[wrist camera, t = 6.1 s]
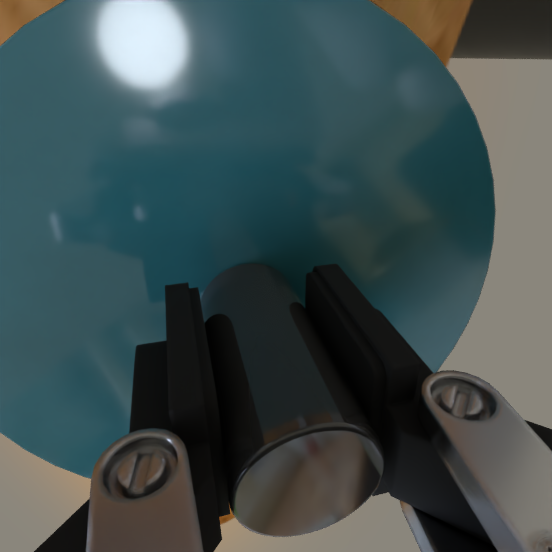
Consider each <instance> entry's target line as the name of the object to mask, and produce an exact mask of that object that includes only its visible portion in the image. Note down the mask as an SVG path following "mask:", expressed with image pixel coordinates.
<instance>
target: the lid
mask: <svg viewBox="0 0 552 552" xmlns="http://www.w3.org/2000/svg"><path fill="white" fill-rule="evenodd" d="M494 225H495V196H494V180H493V175H492V170H491V165H490V160H489V155H488V150H487V146H486V144H485V141H484V138H483V135H482V132H481V130H480V127H479V124H478V121H477V118H476V116H475V114H474V112H473V110H472V108H471V106H470V104H469V103H468V101H467V99H466V97H465V95H464V93H463V91H462V90H461V88H460V86H459V84H458V83H457V81H456V80H455V79H454V77H453V76H452V75H451V74H450V72H449V71H448V70H447V68H446V67H445V66H444V64H443V63H442V62H441V60H440V59H439V58H438V56H437V55H436V54H435V52H434V51H432V50H431V49H430V48H429V47H428V46H427V45H426V44H425V43H424V42H423V41H422V40H421V39H420V38H419V37H418V36H417V35H416V34H415V33H413V32H412V31H411V30H410V29H409V28H408V27H407V26H406V25H405V24H404V23H402V22H401V21H399V20H398V19H396V18H395V17H393V16H392V15H390V14H389V13H387V12H386V11H385V10H383V9H382V8H380V7H379V6H377V5H376V4H374V3H373V2H371V1H370V0H64V1H63V2H61V3H59V4H58V5H56V6H54V7H53V8H51V9H50V10H48V11H46V12H45V13H43V14H41V15H40V16H38V17H36V18H35V19H33V20H32V21H30V22H28V23H27V24H25V25H23V26H22V27H21V28H20V29H19V30H18V31H17V32H15V33H14V34H13V35H12V36H11V37H10V38H9V39H7V40H6V41H5V42H4V43H3V44H2V45H1V46H0V433H2V434H3V435H5V436H6V437H7V438H9V439H10V440H12V441H13V442H15V443H16V444H18V445H19V446H21V447H22V448H23V449H25V450H27V451H28V452H30V453H32V454H34V455H36V456H38V457H40V458H42V459H43V460H45V461H47V462H49V463H51V464H53V465H55V466H58V467H60V468H63V469H65V470H68V471H70V472H73V473H76V474H78V475H81V476H83V477H86V478H90V479H91V477H92V473H93V469H94V466H95V464H96V462H97V461H98V459H99V457H100V456H101V454H102V453H103V452H104V451H105V450H106V449H107V448H108V447H109V446H110V445H111V444H112V443H113V442H115V441H116V440H118V439H120V438H121V437H123V436H124V435H126V434H129V429H130V415H131V402H132V388H133V375H134V361H135V350H136V346H137V345H141V344H147V343H153V342H160V341H166V308H165V285H172V284H180V283H187V282H188V284H189V288H195V287H198V289H199V295H200V300H201V306H202V312H203V318H204V324H205V329H206V335H207V341H208V347H209V353H210V359H211V364H212V370H213V376H214V382H215V388H216V394H217V401H218V408H219V416H220V425H221V435H222V444H223V453H224V461H223V464H224V474H225V480H226V487H227V493H228V499H229V504H230V508H231V511H232V513H233V515H234V516H235V517H236V519H237V520H238V521H239V523H241V524H242V525H243V526H244V527H245V528H247V529H249V530H250V531H252V532H255V533H258V534H261V535H266V536H273V537H288V536H297V535H302V534H307V533H311V532H314V531H318V530H320V529H323V528H326V527H328V526H330V525H332V524H334V523H336V522H338V521H340V520H342V519H343V518H345V517H347V516H348V515H350V514H351V513H352V512H354V511H355V510H357V509H358V508H359V507H360V506H361V505H362V504H363V503H364V502H366V501H367V500H368V499H369V497H370V496H371V495H372V494H373V493H374V491H375V490H376V489H377V487H378V485H379V483H380V482H381V479H382V477H383V475H384V471H385V465H386V458H385V450H384V447H383V444H382V443H381V441H380V439H379V437H378V436H377V434H376V432H375V430H374V429H373V427H372V425H371V423H370V422H369V420H368V418H367V416H366V415H365V413H364V411H363V409H362V408H361V406H360V404H359V402H358V401H357V399H356V397H355V395H354V394H353V392H352V390H351V388H350V387H349V385H348V383H347V381H346V380H345V378H344V376H343V374H342V373H341V371H340V369H339V367H338V366H337V364H336V362H335V360H334V359H333V357H332V355H331V353H330V352H329V350H328V348H327V346H326V345H325V343H324V341H323V339H322V338H321V336H320V334H319V332H318V331H317V329H316V327H315V325H314V324H313V322H312V320H311V318H310V317H309V315H308V313H307V311H306V310H305V289H306V274H307V273H310V272H312V271H313V268H314V266H320V265H328V264H337V265H339V267H340V268H341V269H342V270H343V271H344V273H345V274H346V275H347V276H348V277H349V279H350V280H351V281H352V282H353V283H354V284H355V286H356V287H357V288H358V289H359V290H360V292H361V293H362V294H363V295H364V296H365V298H366V299H367V300H368V301H369V302H370V303H371V305H372V306H373V307H374V308H375V309H378V310H380V311H381V312H382V313H383V314H384V316H385V317H386V318H387V319H388V320H389V322H390V323H391V324H392V325H393V326H394V327H395V329H396V330H397V331H398V332H399V333H400V334H401V336H402V337H403V338H404V339H405V340H406V341H407V343H408V344H409V345H410V346H411V347H412V348H413V350H414V351H415V352H416V353H417V354H418V355H419V357H420V358H421V359H422V360H423V361H424V362H425V364H426V365H427V366H428V367H429V368H430V369H431V371H432V372H433V373H436V372H437V371H438V369H439V368H440V367H441V365H442V364H443V363H444V361H445V360H446V358H447V357H448V356H449V354H450V353H451V351H452V350H453V349H454V347H455V345H456V343H457V342H458V340H459V338H460V336H461V335H462V333H463V331H464V329H465V328H466V326H467V324H468V322H469V320H470V317H471V315H472V313H473V311H474V308H475V306H476V304H477V302H478V299H479V297H480V294H481V290H482V287H483V284H484V281H485V278H486V274H487V271H488V267H489V262H490V257H491V251H492V246H493V240H494Z"/></svg>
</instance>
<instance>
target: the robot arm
mask: <svg viewBox="0 0 552 552" xmlns="http://www.w3.org/2000/svg"><path fill="white" fill-rule="evenodd" d="M165 308H166V341H160V342H153V343H147V344H141V345H137V346H136V350H135V361H134V375H133V388H132V402H131V415H130V429H129V434H126V435H124V436H123V437H121V438H120V439H118V440H116V441H115V442H113V443H112V444H111V445H110V446H109V447H108V448H107V449H106V450H105V451H104V452H103V453H102V454H101V456H100V457H99V459H98V461H97V462H96V464H95V466H94V469H93V473H92V477H91V489H90V499H89V500H87V502H86V503H85V504H83V505H82V506H81V507H80V508H79V509H78V510H77V511H76V512H75V513H74V514H73V515H72V516H71V517H70V518H69V519H68V520H67V521H66V522H65V523H64V524H62V525H61V526H60V527H59V528H58V529H57V530H56V531H55V532H54V533H53V534H52V535H51V536H50V537H49V538H48V539H47V540H46V541H45V542H44V543H43V544H41V545H40V546H39V547H38V548H37V549H36V550H35V551H34V552H214V550H215V549H216V547H217V546H218V544H219V543H220V541H221V540H222V536H221V529H220V520H219V517H220V516H224V515H228V514H230V509H229V499H228V493H227V487H226V480H225V474H224V464H223V461H224V453H223V444H222V435H221V425H220V416H219V408H218V401H217V394H216V388H215V382H214V376H213V370H212V364H211V359H210V353H209V347H208V341H207V335H206V329H205V324H204V318H203V312H202V306H201V300H200V295H199V289H198V287H195V288H189V284H188V282H187V283H180V284H172V285H165ZM305 310H306V311H307V313H308V315H309V317H310V318H311V320H312V322H313V324H314V325H315V327H316V329H317V331H318V332H319V334H320V336H321V338H322V339H323V341H324V343H325V345H326V346H327V348H328V350H329V352H330V353H331V355H332V357H333V359H334V360H335V362H336V364H337V366H338V367H339V369H340V371H341V373H342V374H343V376H344V378H345V380H346V381H347V383H348V385H349V387H350V388H351V390H352V392H353V394H354V395H355V397H356V399H357V401H358V402H359V404H360V406H361V408H362V409H363V411H364V413H365V415H366V416H367V418H368V420H369V422H370V423H371V425H372V427H373V429H374V430H375V432H376V434H377V436H378V437H379V439H380V441H381V443H382V444H383V447H384V450H385V458H386V465H385V471H384V475H383V477H382V479H381V482H380V483H379V485H378V487H377V489H376V490H375V491H374V493H373V494H372V496H375V495H379V494H383V493H387V492H389V493H390V495H391V496H392V497H394V498H397V499H399V500H400V504H401V508H402V511H403V513H404V516H405V518H406V520H407V522H408V524H409V527H410V529H411V531H412V533H413V535H414V537H415V540H416V542H417V544H418V546H419V548H420V551H421V552H552V429H549V428H546V427H543V426H540V425H538V424H534V423H532V422H529V421H526V420H523V418H522V417H521V416H520V415H519V414H518V413H517V412H516V411H515V410H514V408H513V407H512V406H511V405H510V404H509V403H508V402H507V401H506V400H505V398H504V397H503V396H502V395H501V394H500V393H499V392H498V391H497V390H496V389H495V388H494V387H492V386H491V385H490V384H489V383H487V382H486V381H484V380H482V379H481V378H479V377H476V376H473V375H471V374H468V373H465V372H459V371H454V370H453V371H440V372H436V373H433V372H432V371H431V369H430V368H429V367H428V366H427V365H426V364H425V362H424V361H423V360H422V359H421V358H420V357H419V355H418V354H417V353H416V352H415V351H414V350H413V348H412V347H411V346H410V345H409V344H408V343H407V341H406V340H405V339H404V338H403V337H402V336H401V334H400V333H399V332H398V331H397V330H396V329H395V327H394V326H393V325H392V324H391V323H390V322H389V320H388V319H387V318H386V317H385V316H384V314H383V313H382V312H381V311H380V310H378V309H375V308H374V307H373V306H372V305H371V303H370V302H369V301H368V300H367V299H366V298H365V296H364V295H363V294H362V293H361V292H360V290H359V289H358V288H357V287H356V286H355V284H354V283H353V282H352V281H351V280H350V279H349V277H348V276H347V275H346V274H345V273H344V271H343V270H342V269H341V268H340V267H339V265H337V264H328V265H320V266H314V268H313V271H312V272H310V273H307V274H306V289H305Z"/></svg>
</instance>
